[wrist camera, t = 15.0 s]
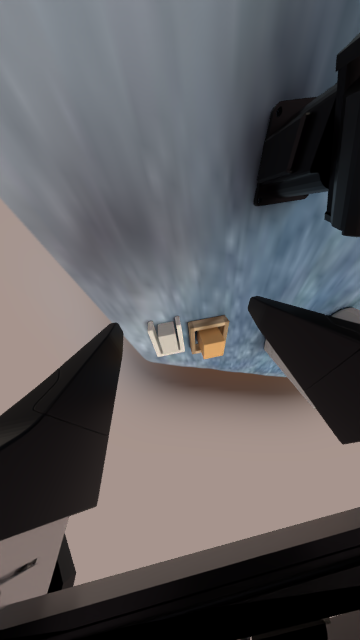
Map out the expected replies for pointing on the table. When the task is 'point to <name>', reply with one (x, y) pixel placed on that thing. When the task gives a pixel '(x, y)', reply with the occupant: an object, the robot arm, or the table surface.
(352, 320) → the water bottle
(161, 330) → the block
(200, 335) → the orange block
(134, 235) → the table surface
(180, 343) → the clip
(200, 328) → the holder
